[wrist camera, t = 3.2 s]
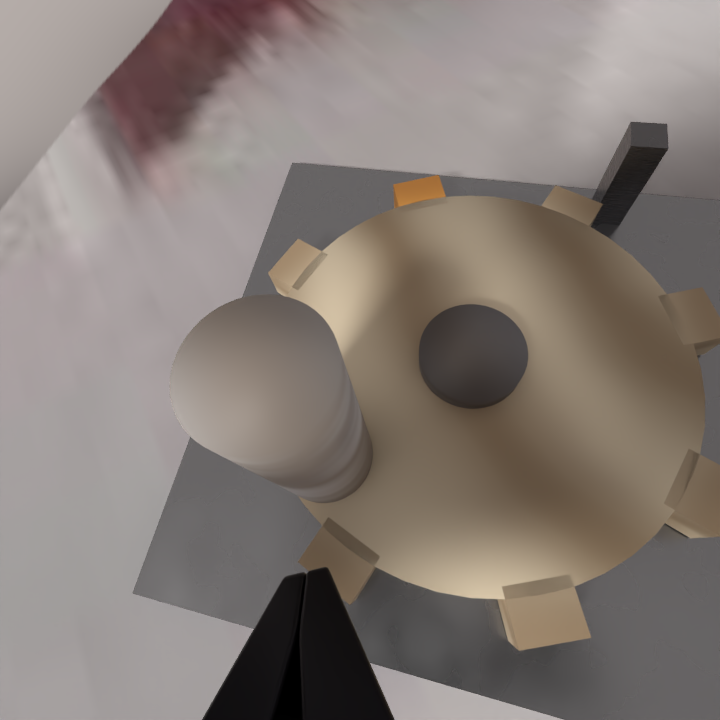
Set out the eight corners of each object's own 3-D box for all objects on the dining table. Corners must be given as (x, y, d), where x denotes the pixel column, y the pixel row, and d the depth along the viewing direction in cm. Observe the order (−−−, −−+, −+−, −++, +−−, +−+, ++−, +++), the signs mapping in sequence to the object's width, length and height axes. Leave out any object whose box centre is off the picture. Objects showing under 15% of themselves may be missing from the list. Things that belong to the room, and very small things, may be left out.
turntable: (498, 148, 22) (551, -100, 13) (823, 434, 15) (1319, 291, 7) (186, 329, 19) (20, 162, 11) (409, 755, 13) (407, 1114, 5)
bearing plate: (783, 779, 12) (971, 892, 8) (140, 592, 16) (46, 605, 12) (725, 209, 20) (808, 118, 16) (294, 170, 23) (269, 87, 19)
